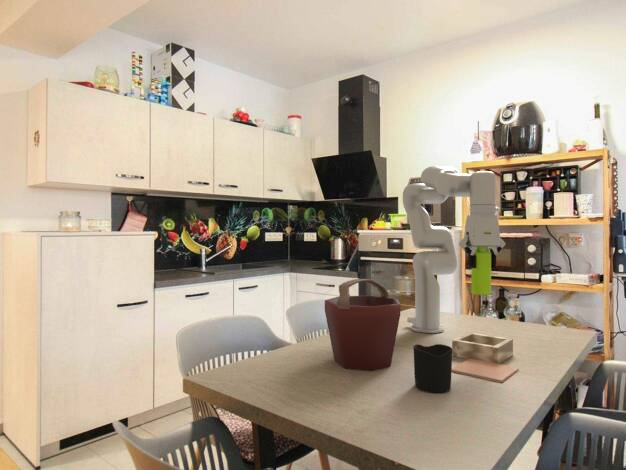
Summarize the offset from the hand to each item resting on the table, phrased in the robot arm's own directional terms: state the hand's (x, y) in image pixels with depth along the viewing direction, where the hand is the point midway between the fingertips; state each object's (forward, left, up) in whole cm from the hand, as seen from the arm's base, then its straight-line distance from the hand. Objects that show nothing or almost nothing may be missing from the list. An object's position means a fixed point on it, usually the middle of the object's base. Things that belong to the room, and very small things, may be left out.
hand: (482, 267), depth 137 cm
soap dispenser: (0, 0, -9) cm, 9 cm away
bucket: (-25, -31, -28) cm, 49 cm away
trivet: (+6, -15, -28) cm, 32 cm away
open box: (0, 0, -28) cm, 28 cm away
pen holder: (+1, -37, -28) cm, 47 cm away
